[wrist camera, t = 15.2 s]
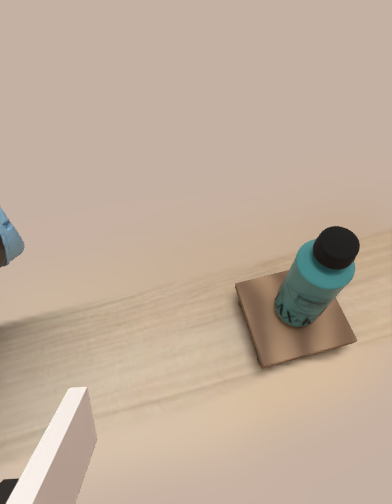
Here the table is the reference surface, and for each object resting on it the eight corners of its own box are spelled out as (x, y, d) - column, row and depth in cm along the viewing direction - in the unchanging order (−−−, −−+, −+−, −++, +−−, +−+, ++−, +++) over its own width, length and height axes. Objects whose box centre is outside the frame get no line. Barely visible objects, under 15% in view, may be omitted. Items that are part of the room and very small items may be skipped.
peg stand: (258, 372, 49) (263, 366, 44) (233, 296, 56) (235, 283, 51) (343, 349, 50) (357, 340, 46) (309, 277, 57) (318, 263, 52)
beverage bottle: (268, 291, 50) (298, 214, 33) (311, 289, 50) (364, 212, 32) (274, 333, 47) (311, 272, 29) (320, 331, 47) (384, 269, 29)
